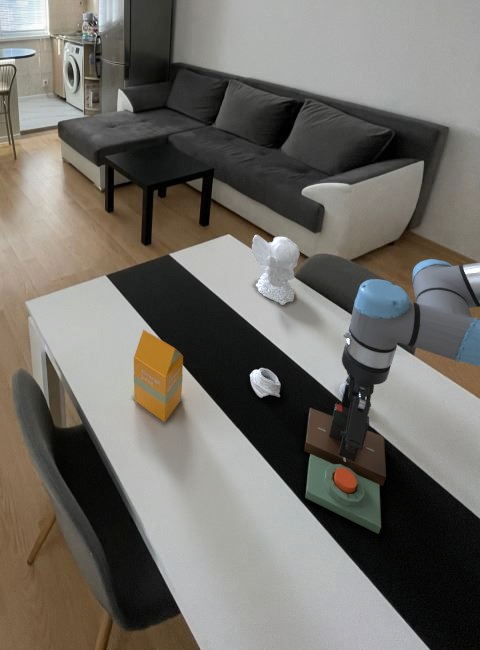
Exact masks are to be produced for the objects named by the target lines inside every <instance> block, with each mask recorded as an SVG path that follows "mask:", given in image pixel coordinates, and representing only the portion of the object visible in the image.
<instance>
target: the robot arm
mask: <svg viewBox="0 0 480 650" xmlns="http://www.w3.org/2000/svg"><path fill="white" fill-rule="evenodd" d="M411 285H412V290H413V294H414V298H415V301H410V296H409V294H408V292H407V291H405V289H403V288H402V287H401V286H399V285H397V284H396V285H395V284H393V283H392V282H391V281H388V280H385V279H381V278H380V279H378V278H371V279H367V280H364V281H363V282H362V283H361V284H360V285H359V288H358V291H357V295H356V297H355V299H354V303H353V309H352V313H351V318H350V322H349V327H348V332H347V331H345V332H344V333H343V337H344V338H345V339H346V341H345V345H344V347H343V352H342V355H341V364H342V366H343V368H344V369H345V371H346V380H345V382H346V381H347V383H348V384H349V385H347V384H346V386H345V390H344V394H343V397H341V403H340V405H341V406H343V407H345V408H348V409H349V414H348V420H347V427H346V430H344V432H343V431H341V436H343V438H342V441H341V445H340V449H339V455H340V456H342V457H345V458H347V459H349V460H352V461H354V462H355V458H356V455H357V451H358V448H359V449H362V446H363V445H362V443H363V438H364V433H365V427H366V422H367V417H368V416H369V412H370V409H371V407H372V404H371V403H372V402H371V398H372V395H373V394H374V389H375V385H382V384H383V383H385V382H386V381H387V380H388V377H389V374H390V370H391V367H392V364H393V361H394V357H395V354H396V351H397V348H398V343H399V344H402V345H404V346H405V345H406V346H409V347H412V348H415V349H419V350H422V351H425V352H427V353H430V354H434V355H438V356H440V357H443V358H447V359H450V360H453V361H455V362H457V363H464V364H468V365H472V366H476V367H480V319H479V318H478V317H472V314H471V310H470V308H471V309H472V308H480V261H479V262H474V263H473V262H472V263H467V264H466V263H465V264H461V265H453V264H451V263H449V262H448V261H445V260H439V259H434V258H430V259H425V260H421V261H420V262H418V263H417V264H416V265H415V266H414V268H413V270H412V282H411ZM347 375H349V376H348V377H347Z"/></svg>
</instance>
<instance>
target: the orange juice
mask: <svg viewBox="0 0 480 650" xmlns="http://www.w3.org/2000/svg"><path fill="white" fill-rule="evenodd" d="M183 367H184V355H183V354H182V353H181V352H180V351H179V350H178V349H177V348H175V347H174V346H172V345H171V344H169V343H167V342H166V341H164V340H162V339H160V338H158V337H157V336H155V335H153V334H152V333H150V332H148V331H146V330H145V329H143V330H142V332H141V336H140V338H139V341H138V343H137V347H136V350H135V353H134V356H133V394H134V395H133V396H134V397H135V398H134V397H133V399H134V401H135V402H136V403H137V404H139V405H140V406H142V407H143V408H144V409H146V410H147V411H148V412H150V413H151V414H152V415H154V416H156V418H158V419H160V420H161V421H162V422H164V423H166V421H167V420H168V419H169V417H170V416H171V415H172V413H173V411H174V410H175V409H176V408H177V406H178V405H179V404H180V402H181V401H182V390H183V389H182V388H183V375H184V374H183V371H184V370H183V369H184V368H183Z"/></svg>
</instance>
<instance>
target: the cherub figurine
mask: <svg viewBox="0 0 480 650" xmlns="http://www.w3.org/2000/svg"><path fill="white" fill-rule="evenodd" d="M251 249H252V250H251V254H252V257H253V258H254V260H255V262H256V263H257V264H258V265H259V266H260V267H261V268H263V269H264V271H265V272H264V273H262V274H261V276H260V277H259V279H258V280H257V283H255V288H257V290H258V292H259V293H260V294H261V295H263V296H264V297H265V298H268V299H269V300H272V301H274V302H276V303H279V304H280V305H281V306H282V305H283V306H284V305H285V304H286V303H289V302H294V300H295V294H296V291H295V289H294V288H293V287H292V285H291V284H290V283H289V282H288V281H292V280H294V279H295V271H294V269H295V268H296V267H297V266H298V261H299V258H300V255H301V253H300V249H299V246H298V245H297V244H296V243H295V242H294V241H293V240H292V239H290V238H289V237H287V236H275V237H273V240H272V242H271V241H269V242H268V241H267V240H265V239H264V238H263V237H262V236H260V235H259V234H255V235H254V236H253V238H252V244H251Z"/></svg>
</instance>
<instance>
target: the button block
mask: <svg viewBox="0 0 480 650" xmlns="http://www.w3.org/2000/svg"><path fill="white" fill-rule="evenodd" d="M338 468H345V469H347V470H349V471H350V472H352V473H353V474H354V476H355V477H356V480H357V485H356V489H355V491H354V492H353V493H350V494H349V493H345V492H343V491H341V490H340V489H339V488H338V487H337V486H336V484H335V482H334V475H335V471H336V470H337V469H338ZM380 489H381V488H380V485H379V484H377V483H375V482H372V481H370V480H368V479H366V478H363V477H361V476H359V475H357V474H356V473H354V472H353V471H352V470H351V469H350V468H348V467H345V466H343V465H341V464H332V463H330V462H327V461H325V460H323V459H321V458H319V457H316V456H314V455H312V454H309V459H308V466H307V477H306V487H305V499H307V500H309V501H311V502H313V503H315V504H317V505H319V506H321V507H323V508H325V509H327V510H329V511H331V512H333V513H335V514H337V515H339V516H341V517H342V518H345V519H346V520H349V521H351V522H353V523H354V524H357V525H360V526H361V527H364V528H366V529H368V530H369V531H371V532H373V533H376V534H377V535H379V534H380V531H381V529H382V517H381V516H382V515H381V513H382V512H381V496H380V495H381V492H380V491H381V490H380Z"/></svg>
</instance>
